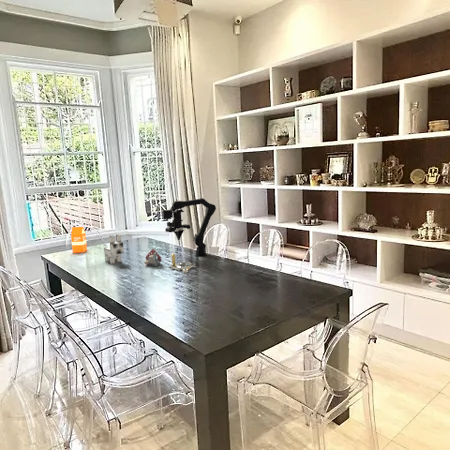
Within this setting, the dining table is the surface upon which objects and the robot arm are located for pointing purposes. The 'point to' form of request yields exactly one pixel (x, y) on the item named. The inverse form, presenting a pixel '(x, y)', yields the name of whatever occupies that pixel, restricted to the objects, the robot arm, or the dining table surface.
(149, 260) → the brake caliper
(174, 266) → the sprocket
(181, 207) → the robot arm
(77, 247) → the orange juice
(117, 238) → the toy llama
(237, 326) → the dining table surface
